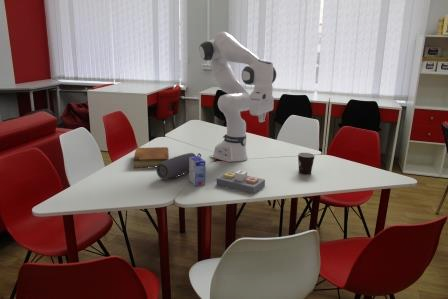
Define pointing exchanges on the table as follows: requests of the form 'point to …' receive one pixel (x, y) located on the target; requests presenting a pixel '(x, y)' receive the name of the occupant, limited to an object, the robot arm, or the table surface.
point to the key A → (229, 175)
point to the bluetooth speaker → (174, 166)
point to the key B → (241, 175)
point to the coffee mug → (305, 163)
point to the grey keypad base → (241, 184)
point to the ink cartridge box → (197, 170)
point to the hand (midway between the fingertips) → (261, 121)
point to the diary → (150, 156)
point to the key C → (252, 180)
